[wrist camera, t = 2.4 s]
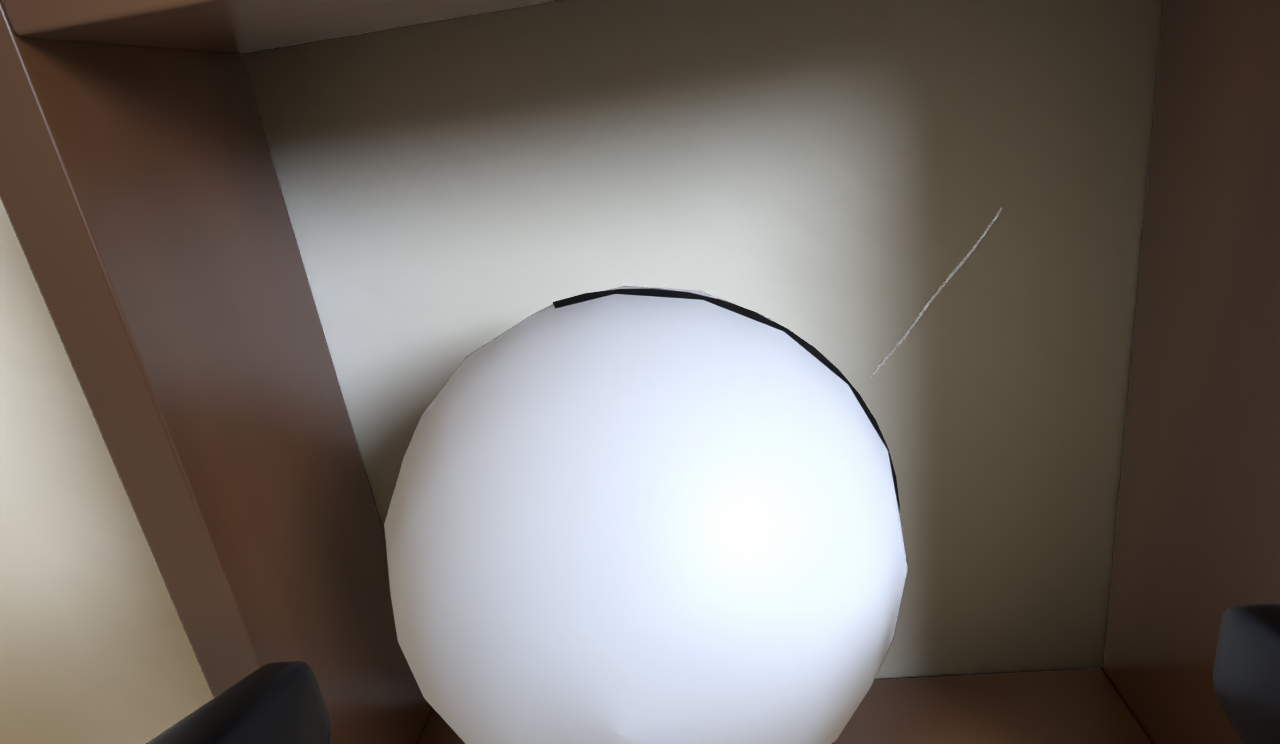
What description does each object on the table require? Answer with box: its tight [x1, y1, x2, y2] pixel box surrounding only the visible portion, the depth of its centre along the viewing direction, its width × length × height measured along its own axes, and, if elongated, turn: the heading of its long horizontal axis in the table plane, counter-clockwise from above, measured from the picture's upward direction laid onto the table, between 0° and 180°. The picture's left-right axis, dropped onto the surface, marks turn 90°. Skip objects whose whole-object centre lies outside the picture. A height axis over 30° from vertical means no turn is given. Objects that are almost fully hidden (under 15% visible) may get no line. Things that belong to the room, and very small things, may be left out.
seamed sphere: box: [384, 207, 1002, 744], centre depth 11 cm, size 10×7×7 cm
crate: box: [0, 0, 1280, 744], centre depth 12 cm, size 17×16×4 cm
